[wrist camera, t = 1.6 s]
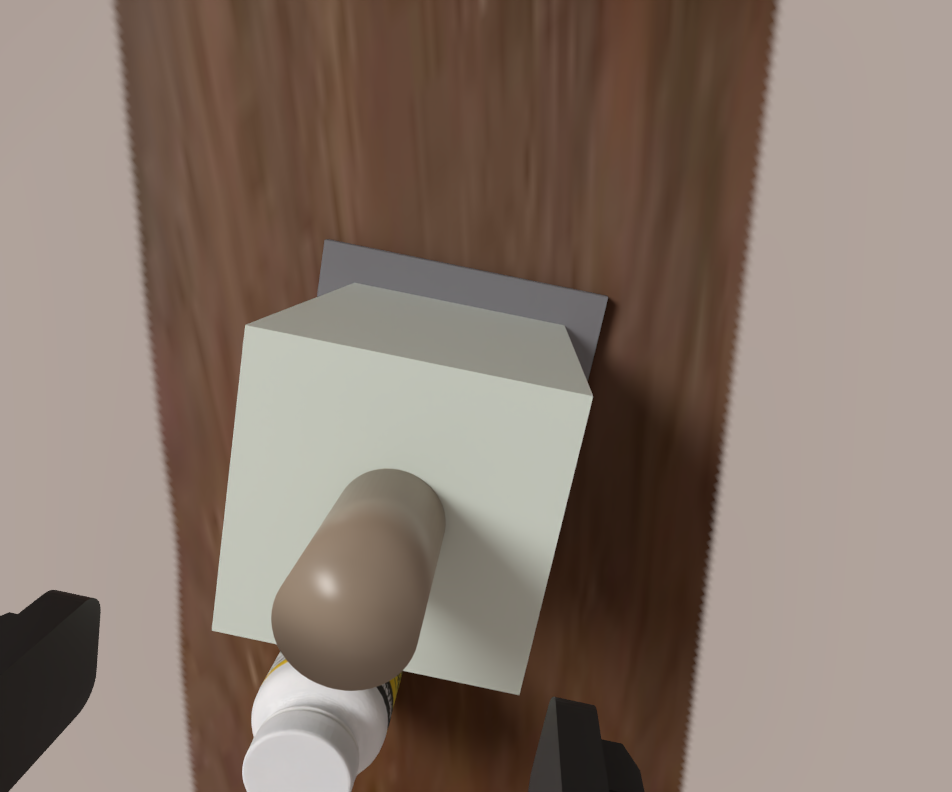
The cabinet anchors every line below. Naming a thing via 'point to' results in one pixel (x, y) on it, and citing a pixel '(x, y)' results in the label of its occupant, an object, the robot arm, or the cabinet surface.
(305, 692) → the supplement bottle
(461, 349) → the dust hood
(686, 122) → the cabinet surface
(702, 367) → the cabinet surface
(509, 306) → the mat
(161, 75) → the cabinet surface
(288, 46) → the cabinet surface
